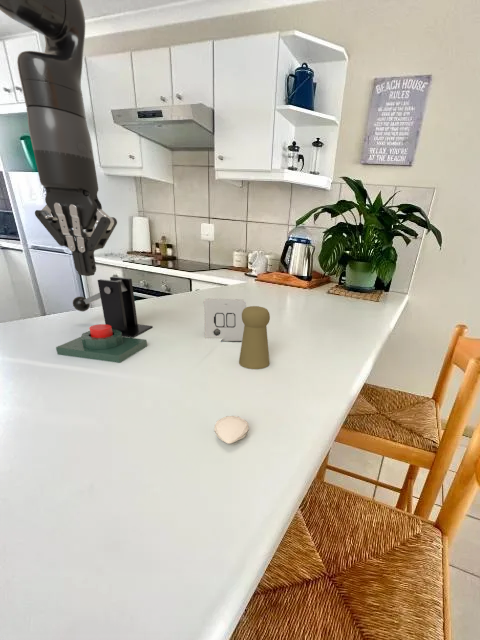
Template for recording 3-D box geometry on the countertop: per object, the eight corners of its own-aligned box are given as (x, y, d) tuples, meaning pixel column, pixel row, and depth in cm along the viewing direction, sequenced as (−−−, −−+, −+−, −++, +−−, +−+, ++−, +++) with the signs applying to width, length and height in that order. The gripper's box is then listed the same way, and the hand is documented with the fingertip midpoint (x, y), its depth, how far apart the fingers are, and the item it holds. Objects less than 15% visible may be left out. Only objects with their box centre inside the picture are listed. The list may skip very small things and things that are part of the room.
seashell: (249, 428, 43) (249, 412, 42) (246, 452, 39) (246, 435, 38) (217, 427, 43) (216, 411, 42) (210, 451, 39) (209, 433, 37)
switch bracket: (90, 335, 70) (79, 279, 64) (113, 325, 77) (105, 274, 71) (134, 341, 69) (126, 284, 63) (153, 330, 76) (147, 278, 70)
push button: (86, 337, 59) (84, 328, 58) (99, 332, 62) (97, 323, 61) (105, 340, 58) (103, 330, 57) (117, 334, 61) (115, 325, 61)
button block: (58, 358, 58) (53, 337, 56) (92, 342, 66) (88, 323, 64) (120, 367, 57) (117, 345, 55) (147, 350, 65) (145, 330, 63)
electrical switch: (204, 342, 72) (203, 299, 68) (205, 336, 76) (203, 296, 73) (246, 342, 74) (247, 301, 70) (244, 337, 79) (245, 298, 75)
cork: (248, 371, 60) (249, 312, 55) (233, 359, 64) (233, 304, 59) (275, 365, 63) (279, 309, 58) (259, 355, 67) (261, 302, 62)
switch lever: (75, 314, 71) (66, 301, 69) (85, 311, 73) (76, 298, 72) (121, 294, 67) (112, 279, 66) (129, 291, 70) (121, 277, 69)
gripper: (121, 161, 50) (135, 276, 58) (44, 154, 51) (67, 268, 59) (88, 151, 44) (108, 282, 51) (0, 143, 45) (33, 273, 53)
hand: (86, 274), depth 55 cm, fingers closed
